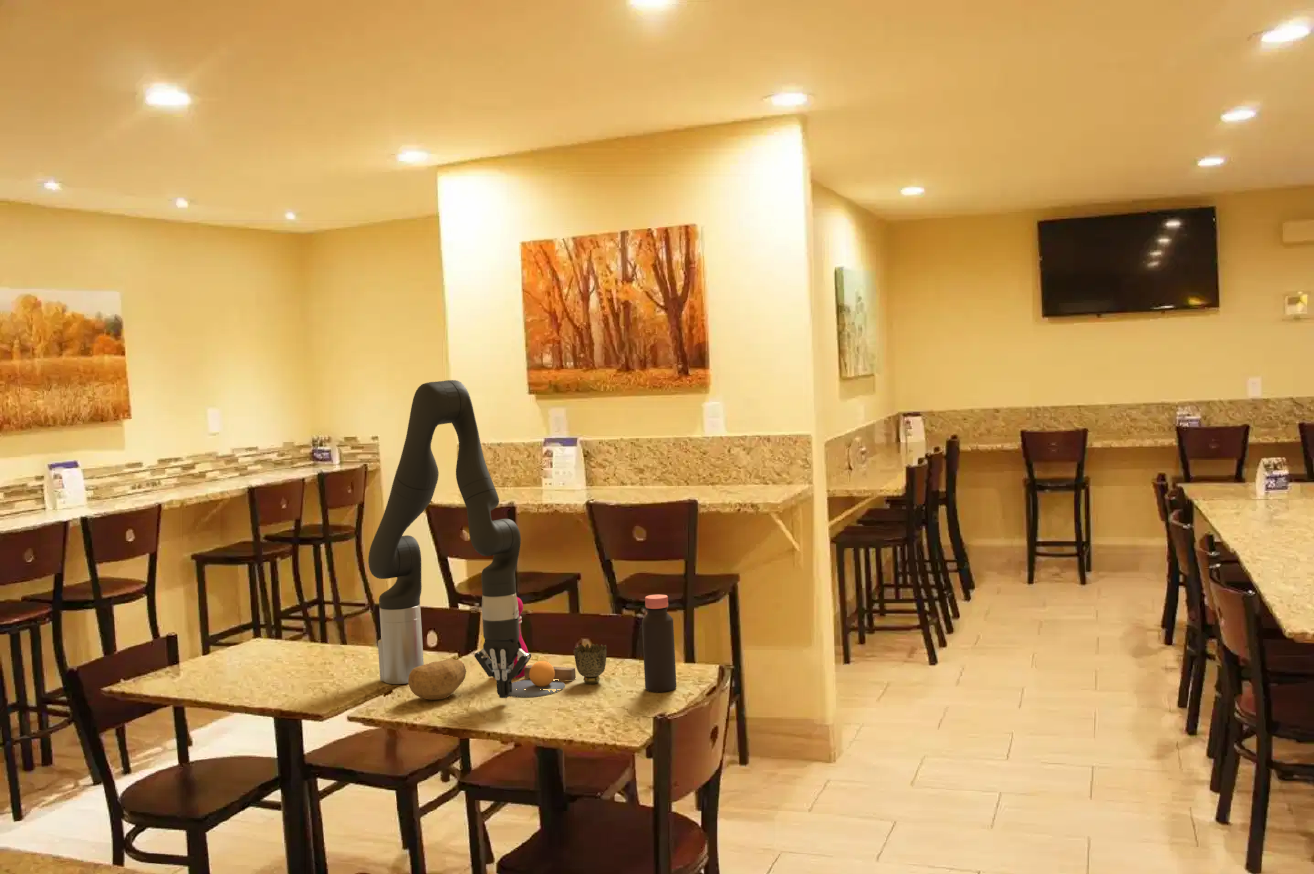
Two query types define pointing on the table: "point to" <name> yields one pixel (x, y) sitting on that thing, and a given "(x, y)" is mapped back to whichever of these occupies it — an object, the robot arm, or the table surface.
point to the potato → (437, 679)
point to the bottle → (658, 645)
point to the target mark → (533, 688)
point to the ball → (542, 673)
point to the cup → (590, 662)
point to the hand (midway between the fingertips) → (505, 696)
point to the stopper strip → (556, 672)
